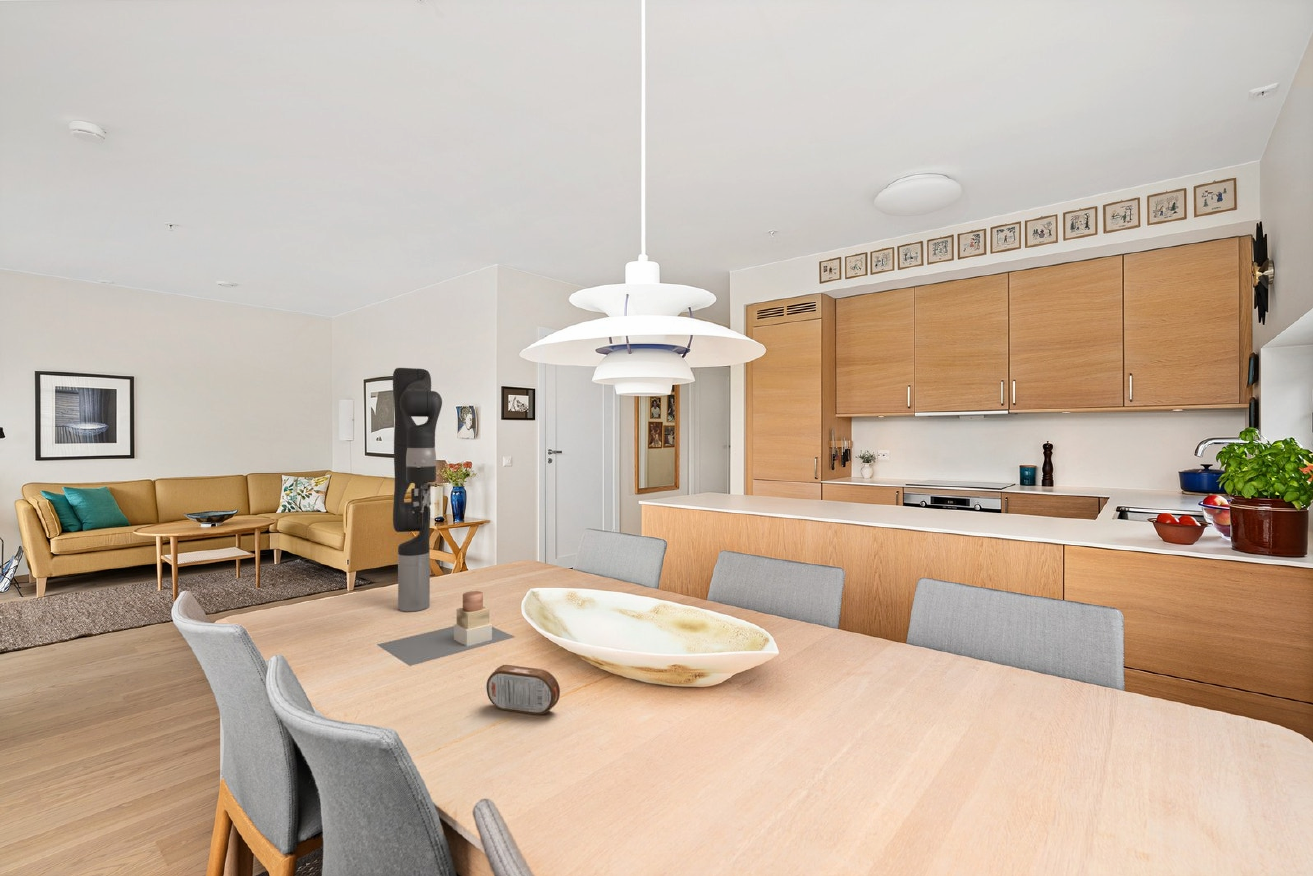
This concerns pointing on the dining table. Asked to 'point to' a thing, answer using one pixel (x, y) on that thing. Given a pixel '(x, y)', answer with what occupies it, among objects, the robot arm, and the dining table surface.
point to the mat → (434, 645)
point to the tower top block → (472, 618)
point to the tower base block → (472, 634)
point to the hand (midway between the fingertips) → (421, 524)
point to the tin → (523, 689)
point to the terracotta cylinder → (472, 601)
